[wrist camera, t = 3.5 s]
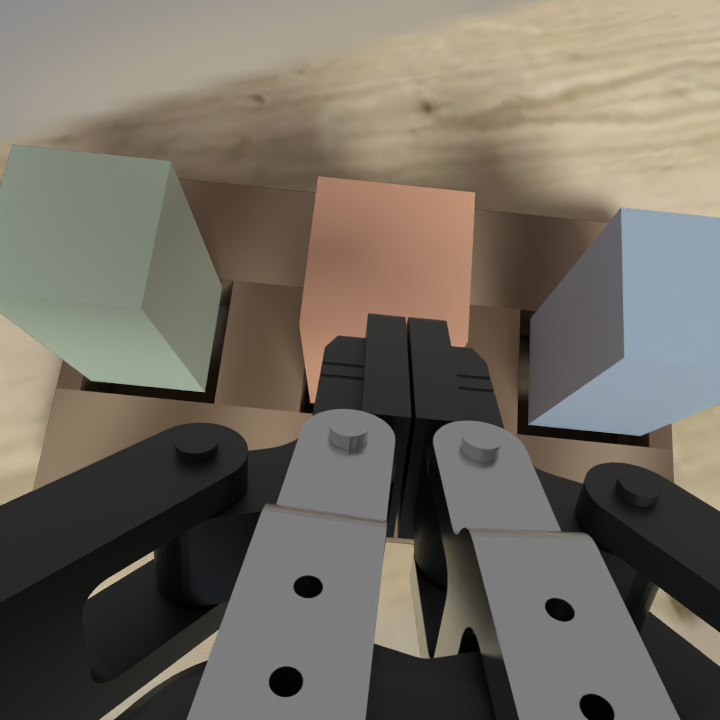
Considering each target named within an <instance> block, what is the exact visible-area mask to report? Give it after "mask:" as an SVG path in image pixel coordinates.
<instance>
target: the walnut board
mask: <svg viewBox="0 0 720 720" xmlns="http://www.w3.org/2000/svg"><path fill="white" fill-rule="evenodd" d="M178 180H179V182H180V184H181V187H182V189H183V192H184V194H185V197H186V199H187V202H188V204H189V207H190V209H191V212H192V214H193V217H194V219H195V221H196V224H197V226H198V229H199V231H200V234H201V236H202V239H203V241H204V244H205V246H206V249H207V251H208V253H209V256H210V258H211V261H212V263H213V266H214V268H215V271H216V273H217V276H218V278H219V281H220V283H221V286H222V292H221V298H220V305H229V306H230V308H229V314H228V320H227V326H226V333H225V339H224V345H223V351H222V357H221V364H220V370H219V376H218V382H217V389H216V395H215V401H214V404H210V403H200V402H190V401H180V400H170V399H160V398H150V397H140V396H130V395H120V394H110V393H108V391H109V386H110V383H108V382H98V381H91V380H90V379H88V378H87V377H85V376H84V375H83V374H81V373H80V372H79V371H77V370H76V369H75V368H73V367H72V366H71V365H69V364H68V363H67V362H65V361H64V360H63V362H62V366H61V370H60V375H59V379H58V383H57V388H56V392H55V396H54V400H53V405H52V409H51V413H50V418H49V422H48V426H47V431H46V435H45V439H44V443H43V448H42V452H41V456H40V461H39V465H38V469H37V474H36V478H35V482H34V487H33V491H34V490H36V489H38V488H40V487H42V486H45V485H47V484H49V483H51V482H53V481H55V480H58V479H60V478H62V477H64V476H66V475H68V474H71V473H73V472H75V471H77V470H79V469H82V468H84V467H86V466H88V465H90V464H92V463H95V462H97V461H99V460H101V459H103V458H105V457H108V456H110V455H112V454H114V453H116V452H119V451H121V450H123V449H125V448H127V447H129V446H132V445H134V444H136V443H138V442H140V441H143V440H145V439H147V438H149V437H151V436H153V435H156V434H158V433H160V432H162V431H164V430H167V429H169V428H172V427H174V426H178V425H182V424H188V423H198V422H200V423H214V424H219V425H223V426H226V427H228V428H231V429H233V430H235V431H236V432H238V433H239V434H240V435H241V436H242V437H243V438H244V439H245V441H246V443H247V446H248V451H249V450H258V449H267V448H273V447H278V446H281V445H285V444H287V443H290V442H292V441H294V440H296V439H298V438H299V435H300V432H301V429H302V427H303V425H304V423H305V422H306V421H307V420H308V419H309V418H311V417H312V415H313V414H310V413H304V410H305V402H306V393H307V385H308V383H307V376H306V369H305V362H304V355H303V348H302V341H301V334H300V327H299V322H300V314H301V306H302V298H303V290H304V282H305V275H306V267H307V259H308V251H309V243H310V235H311V228H312V220H313V212H314V204H315V196H316V193H313V192H303V191H293V190H284V189H274V188H264V187H255V186H245V185H235V184H226V183H216V182H206V181H197V180H187V179H178ZM607 224H608V223H603V222H593V221H583V220H574V219H564V218H554V217H545V216H535V215H525V214H516V213H506V212H496V211H487V210H477V209H474V228H473V248H472V268H471V289H470V309H469V329H468V342H467V344H466V345H465V347H467V348H472V349H473V350H474V351H475V352H476V353H477V354H478V355H479V356H480V357H481V358H482V359H484V360H485V361H486V363H487V367H488V370H489V374H490V380H491V381H492V385H493V389H494V393H495V396H496V400H497V403H498V407H499V411H500V414H501V418H502V422H503V425H504V429H505V430H506V431H508V432H510V433H511V434H513V435H514V436H516V437H517V438H518V439H519V440H520V441H521V442H522V443H523V445H524V447H525V448H526V450H527V453H528V455H529V457H530V460H531V462H532V464H533V466H534V467H536V468H538V469H540V470H542V471H545V472H547V473H550V474H553V475H556V476H559V477H563V478H566V479H569V480H573V481H576V482H579V483H583V482H584V479H585V476H586V473H587V472H588V471H589V470H590V469H591V468H592V467H594V466H596V465H599V464H602V463H610V462H618V463H627V464H632V465H636V466H640V467H643V468H646V469H648V470H651V471H653V472H655V473H657V474H659V475H661V476H663V477H664V478H666V479H668V480H669V481H671V482H673V483H674V474H673V449H672V425H671V424H668V425H666V426H663V427H661V428H659V429H656V430H654V431H651V432H649V433H646V434H644V435H641V436H636V435H626V434H618V444H609V443H599V442H589V441H579V440H569V439H559V438H550V437H540V436H530V435H520V434H517V414H518V376H519V338H520V335H525V336H530V319H531V317H532V316H533V315H534V314H535V313H536V311H537V310H538V309H539V308H540V306H541V305H542V304H543V303H544V302H545V300H546V299H547V298H548V297H549V295H550V294H551V293H552V292H553V290H554V289H555V288H556V287H557V286H558V284H559V283H560V282H561V281H562V279H563V278H564V277H565V276H566V275H567V273H568V272H569V271H570V270H571V268H572V267H573V266H574V265H575V264H576V262H577V261H578V260H579V259H580V257H581V256H582V255H583V254H584V252H585V251H586V250H587V249H588V248H589V246H590V245H591V244H592V243H593V241H594V240H595V239H596V238H597V237H598V235H599V234H600V233H601V232H602V230H603V229H604V228H605V227H606V225H607ZM386 542H394V543H404V544H414V539H403V538H398V532H397V518H396V524H395V531H394V538H390V537H386Z"/></svg>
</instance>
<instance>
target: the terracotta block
mask: <svg viewBox="0 0 720 720" xmlns="http://www.w3.org/2000/svg"><path fill="white" fill-rule="evenodd" d="M474 208H475V192H466V191H457V190H447V189H437V188H428V187H418V186H408V185H399V184H389V183H379V182H370V181H360V180H351V179H341V178H331V177H322V176H318V181H317V188H316V196H315V204H314V212H313V220H312V228H311V235H310V243H309V251H308V259H307V267H306V275H305V282H304V290H303V298H302V306H301V314H300V322H299V327H300V334H301V341H302V348H303V355H304V362H305V369H306V376H307V383H308V390H309V397H310V403H315V399H316V393H317V388H318V382H319V377H320V371H321V365H322V360H323V354H324V349H325V346H327V345H328V344H329V343H330V342H331V341H332V340H333V339H335V338H336V337H337V336H338V335H339V336H350V337H360V338H365V335H366V325H367V316H368V313H371V314H382V315H392V316H403V317H406V324H407V320H408V317H414V318H425V319H435V320H446V321H447V325H448V331H449V336H450V342H451V346H456V347H465V345H466V344H467V342H468V329H469V309H470V289H471V268H472V248H473V228H474Z"/></svg>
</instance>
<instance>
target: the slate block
mask: <svg viewBox="0 0 720 720" xmlns="http://www.w3.org/2000/svg"><path fill="white" fill-rule="evenodd" d="M718 404H720V218H717V217H707V216H698V215H688V214H678V213H669V212H659V211H650V210H640V209H630V208H620V210H619V211H618V212H617V213H616V214H615V216H614V217H613V218H612V219H611V221H610V222H609V223H608V224H607V225H606V227H605V228H604V229H603V230H602V232H601V233H600V234H599V235H598V237H597V238H596V239H595V240H594V241H593V243H592V244H591V245H590V246H589V248H588V249H587V250H586V251H585V252H584V254H583V255H582V256H581V257H580V259H579V260H578V261H577V262H576V264H575V265H574V266H573V267H572V268H571V270H570V271H569V272H568V273H567V275H566V276H565V277H564V278H563V279H562V281H561V282H560V283H559V284H558V286H557V287H556V288H555V289H554V290H553V292H552V293H551V294H550V295H549V297H548V298H547V299H546V300H545V302H544V303H543V304H542V305H541V306H540V308H539V309H538V310H537V311H536V313H535V314H534V315H533V316H532V317H531V319H530V360H529V407H528V425H536V426H546V427H556V428H566V429H576V430H586V431H596V432H606V433H616V434H626V435H636V436H641V435H644V434H646V433H649V432H651V431H654V430H656V429H659V428H661V427H663V426H666V425H668V424H671V423H673V422H676V421H678V420H681V419H683V418H686V417H688V416H691V415H693V414H695V413H698V412H700V411H703V410H705V409H708V408H710V407H713V406H715V405H718Z"/></svg>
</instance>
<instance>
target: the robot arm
mask: <svg viewBox="0 0 720 720" xmlns="http://www.w3.org/2000/svg"><path fill="white" fill-rule="evenodd" d="M396 518H397V532H398V538H403V539H414V555H413V561H412V567H411V573H410V584H411V591H412V599H413V606H414V613H415V621H416V628H417V636H418V643H419V650H420V658H419V657H414V656H411V655H408V654H405V653H402V652H399V651H396V650H392V649H389V648H386V647H383V646H380V645H377V644H374V637H375V628H376V619H377V610H378V601H379V592H380V583H381V574H382V565H383V556H384V550H385V543H386V537H390V538H394V531H395V524H396ZM152 551H154V559H153V560H151V561H150V562H148V563H146V564H145V565H143V566H141V567H140V568H138V569H137V570H135V571H133V572H132V573H130V574H128V575H127V576H125V577H123V578H122V579H120V580H119V581H117V582H115V583H114V584H112V585H110V586H109V587H107V588H105V589H104V590H102V591H100V592H99V593H97V594H96V595H94V596H92V597H91V598H89V599H88V597H89V596H90V594H91V593H92V592H93V590H94V589H95V588H96V587H97V586H98V585H99V584H101V583H102V582H103V581H104V580H106V579H107V578H109V577H111V576H112V575H114V574H116V573H117V572H119V571H121V570H122V569H124V568H126V567H127V566H129V565H131V564H132V563H134V562H136V561H137V560H139V559H141V558H142V557H144V556H146V555H147V554H149V553H151V552H152ZM658 588H661V589H662V590H664V591H665V592H666V593H668V594H669V595H670V596H672V597H673V598H674V599H676V600H677V601H678V602H680V603H681V604H682V605H684V606H685V607H686V608H688V609H689V610H690V611H692V612H693V613H694V614H696V615H697V616H698V617H700V618H701V619H702V620H704V621H705V622H706V623H708V624H709V625H710V626H712V627H713V628H715V629H716V630H717V631H719V632H720V511H718V510H716V509H715V508H713V507H712V506H710V505H708V504H707V503H705V502H703V501H702V500H700V499H699V498H697V497H695V496H694V495H692V494H690V493H689V492H687V491H686V490H684V489H682V488H681V487H679V486H677V485H676V484H674V483H673V482H671V481H669V480H668V479H666V478H664V477H663V476H661V475H659V474H657V473H655V472H653V471H651V470H648V469H646V468H643V467H640V466H636V465H632V464H627V463H618V462H610V463H602V464H599V465H596V466H594V467H592V468H591V469H590V470H589V471H588V472H587V473H586V476H585V479H584V482H583V483H579V482H576V481H573V480H569V479H566V478H563V477H559V476H556V475H553V474H550V473H547V472H545V471H542V470H540V469H538V468H536V467H534V466H533V464H532V462H531V460H530V457H529V455H528V453H527V450H526V448H525V447H524V445H523V443H522V442H521V441H520V440H519V439H518V438H517V437H516V436H514V435H513V434H511V433H510V432H508V431H506V430H505V429H504V425H503V422H502V418H501V414H500V411H499V407H498V403H497V400H496V396H495V393H494V389H493V385H492V381H491V380H490V374H489V370H488V367H487V363H486V361H485V360H484V359H482V358H481V357H480V356H479V355H478V354H477V353H476V352H475V351H474V350H473V349H472V348H467V347H456V346H451V342H450V336H449V331H448V325H447V321H446V320H435V319H425V318H414V317H408V320H407V324H406V317H403V316H392V315H382V314H371V313H368V316H367V325H366V335H365V338H360V337H350V336H339V335H338V336H337V337H336V338H335V339H333V340H332V341H331V342H330V343H329V344H328V345H327V346H325V349H324V354H323V360H322V365H321V371H320V377H319V382H318V388H317V393H316V399H315V404H314V410H313V415H312V417H311V418H309V419H308V420H307V421H306V422H305V423H304V425H303V427H302V429H301V432H300V435H299V438H298V439H296V440H294V441H292V442H290V443H287V444H285V445H281V446H278V447H273V448H267V449H258V450H249V451H248V446H247V443H246V441H245V439H244V438H243V437H242V436H241V435H240V434H239V433H238V432H236V431H235V430H233V429H231V428H228V427H226V426H223V425H219V424H214V423H200V422H198V423H188V424H182V425H178V426H174V427H172V428H169V429H167V430H164V431H162V432H160V433H158V434H156V435H153V436H151V437H149V438H147V439H145V440H143V441H140V442H138V443H136V444H134V445H132V446H129V447H127V448H125V449H123V450H121V451H119V452H116V453H114V454H112V455H110V456H108V457H105V458H103V459H101V460H99V461H97V462H95V463H92V464H90V465H88V466H86V467H84V468H82V469H79V470H77V471H75V472H73V473H71V474H68V475H66V476H64V477H62V478H60V479H58V480H55V481H53V482H51V483H49V484H47V485H45V486H42V487H40V488H38V489H36V490H34V491H31V492H29V493H27V494H25V495H23V496H21V497H18V498H16V499H14V500H12V501H10V502H7V503H5V504H3V505H1V506H0V720H99V719H101V718H102V717H103V716H105V715H106V714H107V713H109V712H110V711H111V710H113V709H114V708H115V707H116V706H118V705H119V704H120V703H122V702H123V701H124V700H126V699H127V698H128V697H130V696H131V695H132V694H134V693H135V692H136V691H138V690H139V689H140V688H142V687H143V686H144V685H146V684H147V683H148V682H150V681H151V680H152V679H154V678H155V677H156V676H158V675H159V674H160V673H162V672H163V671H164V670H166V669H167V668H168V667H169V666H171V665H172V664H173V663H175V662H176V661H177V660H179V659H180V658H181V657H183V656H184V655H185V654H187V653H188V652H189V651H191V650H192V649H193V648H195V647H196V646H197V645H199V644H200V643H201V642H203V641H204V640H205V639H207V638H208V637H209V636H211V635H212V634H213V633H215V632H216V631H217V630H219V631H218V634H217V637H216V640H215V642H214V645H213V648H212V651H211V653H210V656H209V659H208V660H207V661H205V662H202V663H199V664H197V665H194V666H192V667H190V668H188V669H186V670H184V671H182V672H180V673H178V674H176V675H174V676H172V677H170V678H169V679H167V680H166V681H164V682H162V683H161V684H159V685H158V686H156V687H155V688H153V689H152V690H150V691H149V692H148V693H146V694H145V695H144V696H143V697H141V698H140V699H139V700H138V701H136V702H135V703H134V704H133V705H131V706H130V707H129V708H128V709H126V710H125V711H124V712H123V713H122V714H120V715H119V716H118V717H117V718H115V719H114V720H720V666H718V665H717V664H716V663H715V662H713V661H712V660H711V659H709V658H708V657H707V656H706V655H704V654H703V653H702V652H700V651H699V650H698V649H697V648H695V647H694V646H693V645H692V644H690V643H689V642H688V641H686V640H685V639H684V638H683V637H681V636H680V635H679V634H677V633H676V632H675V631H674V630H672V629H671V628H670V627H668V626H667V625H666V624H665V623H663V622H662V621H661V620H660V619H658V618H657V617H656V616H654V615H653V614H652V613H651V612H649V610H650V607H651V605H652V603H653V600H654V598H655V596H656V593H657V591H658Z"/></svg>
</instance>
